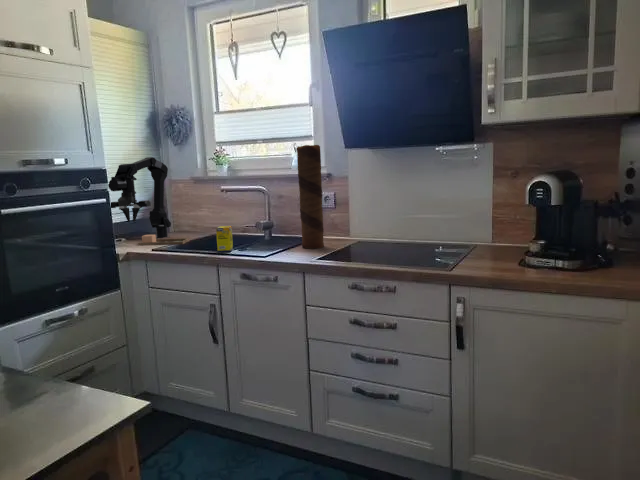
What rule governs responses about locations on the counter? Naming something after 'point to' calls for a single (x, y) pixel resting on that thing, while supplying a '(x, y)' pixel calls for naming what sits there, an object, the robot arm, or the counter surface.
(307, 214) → the wafer roll
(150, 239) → the terracotta block
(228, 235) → the supplement box
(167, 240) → the trap lane
